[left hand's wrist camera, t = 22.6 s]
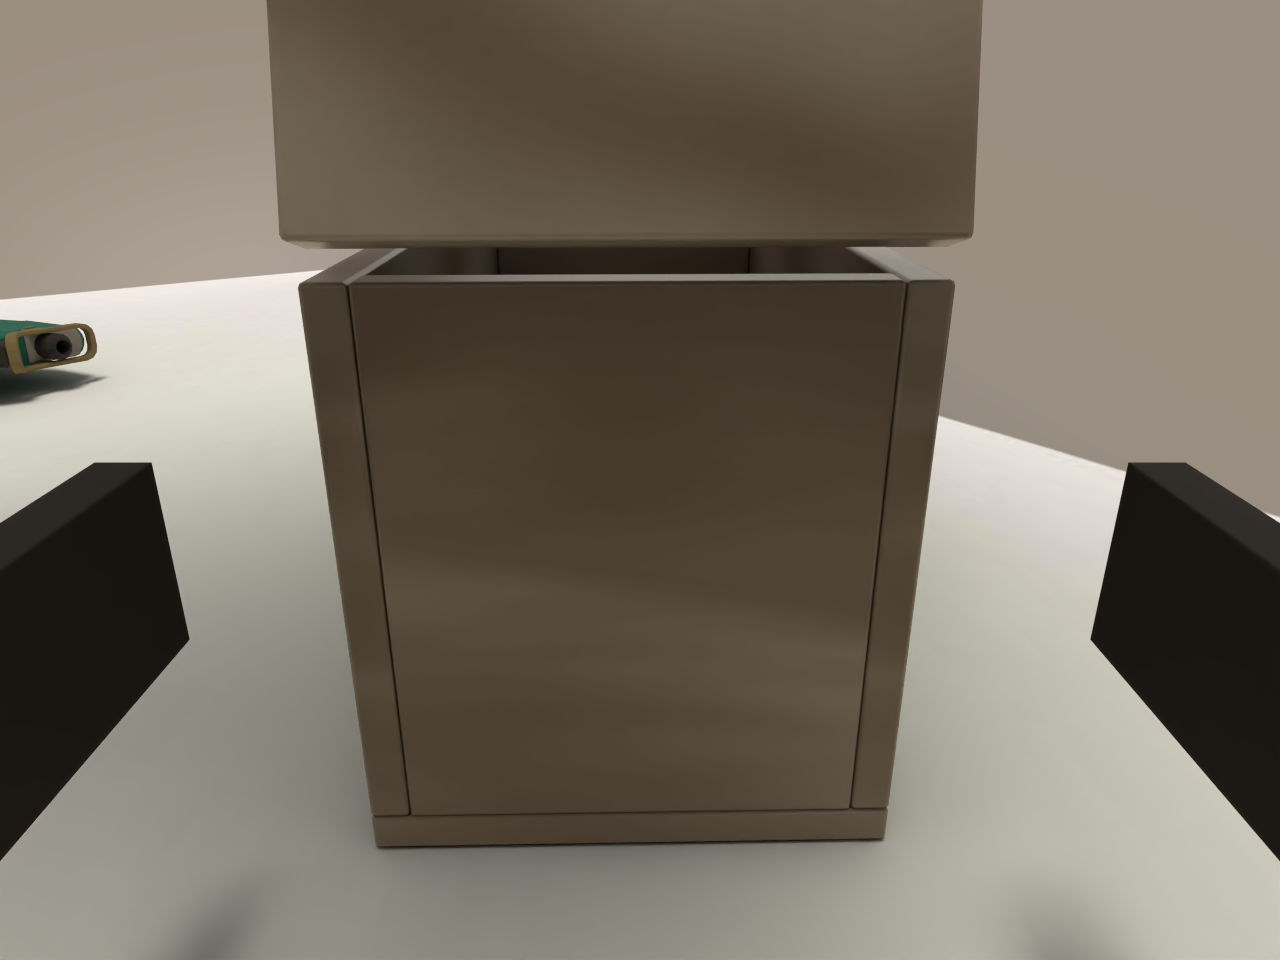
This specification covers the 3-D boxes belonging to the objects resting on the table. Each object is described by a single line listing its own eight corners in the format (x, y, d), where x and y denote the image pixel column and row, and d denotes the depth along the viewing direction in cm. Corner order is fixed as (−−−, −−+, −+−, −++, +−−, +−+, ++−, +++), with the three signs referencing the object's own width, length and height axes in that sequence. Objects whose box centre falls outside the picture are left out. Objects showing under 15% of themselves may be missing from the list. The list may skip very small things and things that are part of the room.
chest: (493, 490, 33) (473, 188, 29) (756, 488, 33) (772, 188, 29) (374, 848, 17) (294, 283, 13) (885, 840, 17) (958, 280, 13)
